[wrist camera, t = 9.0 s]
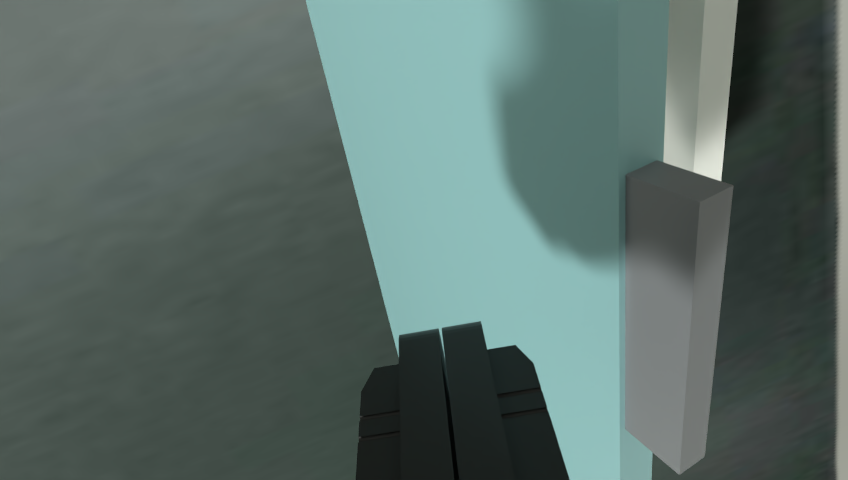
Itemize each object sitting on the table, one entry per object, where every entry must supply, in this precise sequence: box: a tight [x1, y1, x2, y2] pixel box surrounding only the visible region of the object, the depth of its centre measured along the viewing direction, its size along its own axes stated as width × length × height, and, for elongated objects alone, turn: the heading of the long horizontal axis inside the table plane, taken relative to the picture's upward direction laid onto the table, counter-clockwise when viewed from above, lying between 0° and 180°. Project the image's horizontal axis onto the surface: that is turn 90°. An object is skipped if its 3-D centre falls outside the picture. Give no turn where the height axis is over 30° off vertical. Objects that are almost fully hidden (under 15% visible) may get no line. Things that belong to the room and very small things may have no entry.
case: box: [663, 0, 738, 181], centre depth 26 cm, size 22×14×8 cm, turn 10°
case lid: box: [306, 0, 733, 480], centre depth 16 cm, size 22×16×1 cm
